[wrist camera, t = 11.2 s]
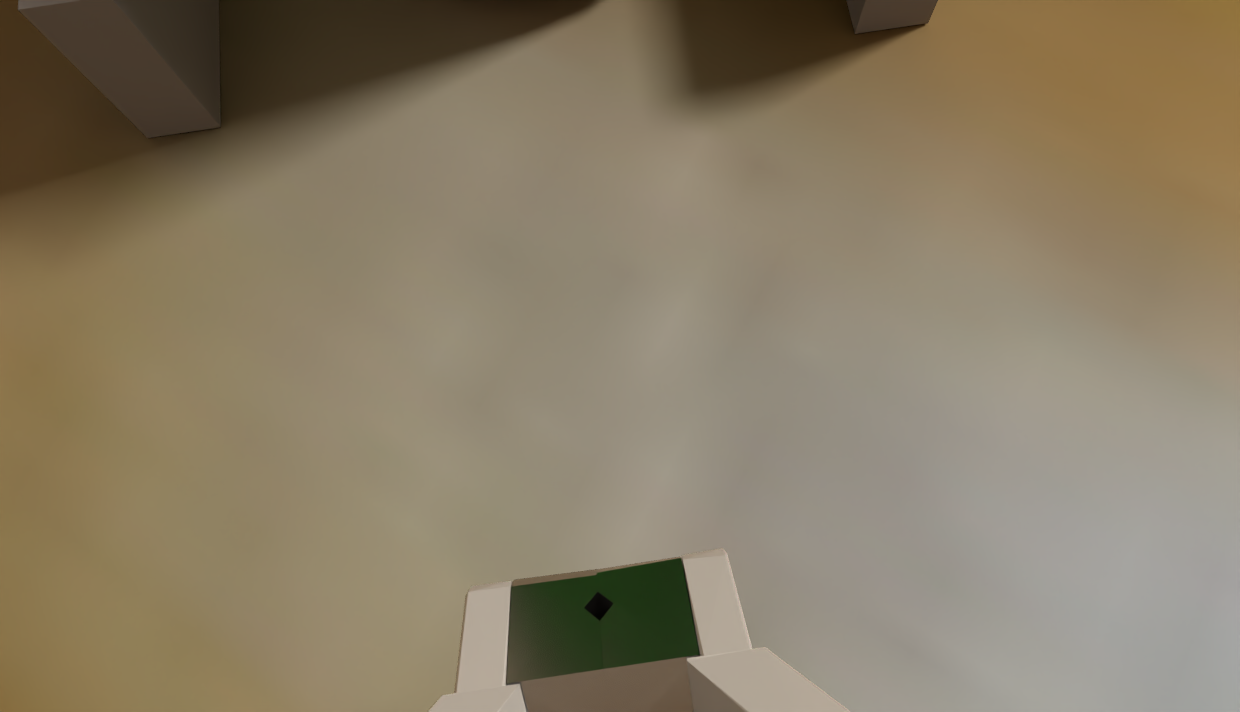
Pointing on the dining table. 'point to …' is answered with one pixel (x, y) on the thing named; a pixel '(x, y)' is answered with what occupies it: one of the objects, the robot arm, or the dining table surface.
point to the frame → (190, 51)
